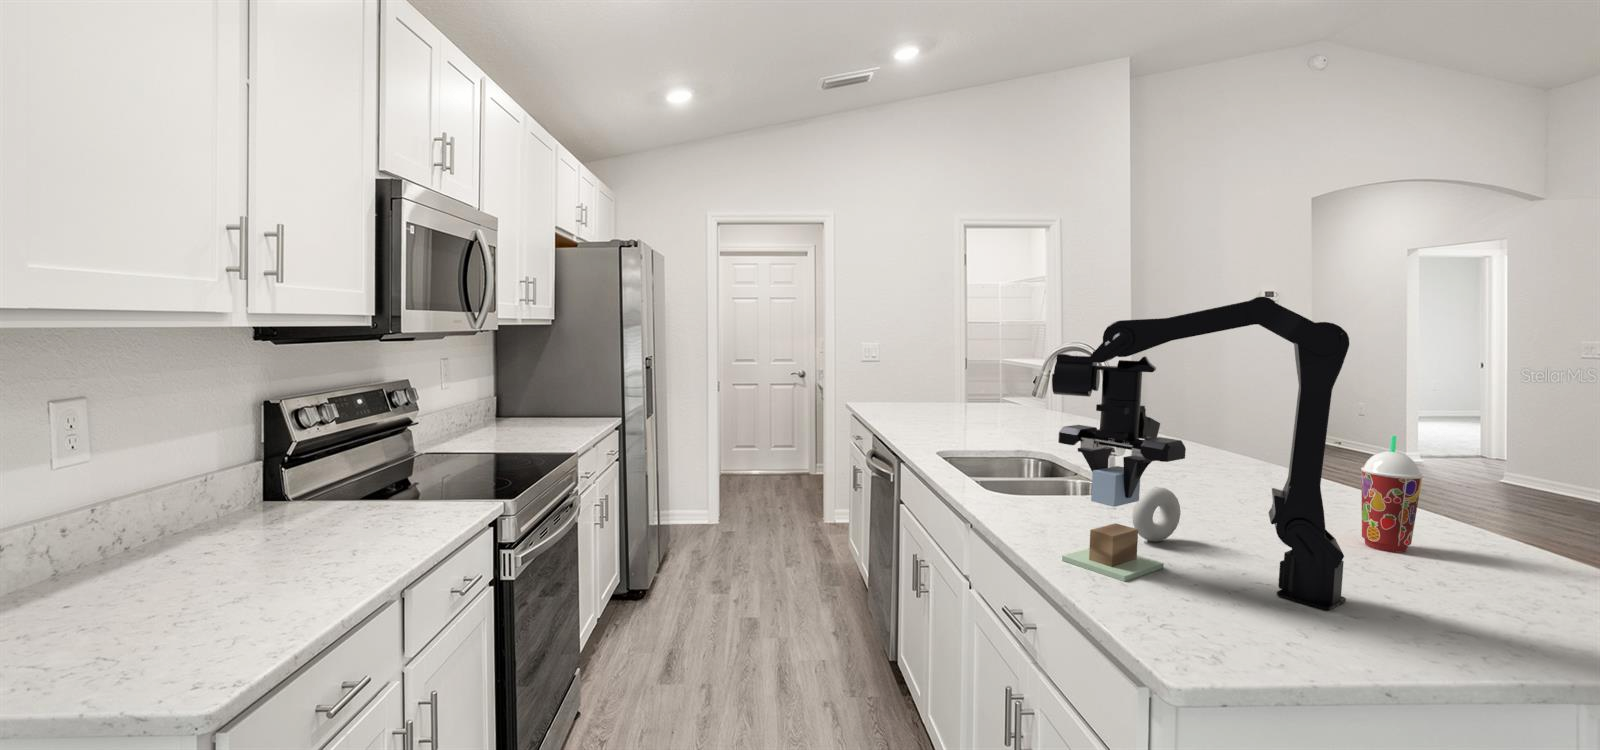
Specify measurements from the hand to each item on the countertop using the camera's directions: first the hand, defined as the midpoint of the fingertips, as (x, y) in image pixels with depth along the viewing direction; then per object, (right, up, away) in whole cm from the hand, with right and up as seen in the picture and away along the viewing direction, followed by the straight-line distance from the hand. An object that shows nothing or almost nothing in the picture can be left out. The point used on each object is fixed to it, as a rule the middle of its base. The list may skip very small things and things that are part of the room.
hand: (1115, 494), depth 114 cm
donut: (+13, -11, +14) cm, 22 cm away
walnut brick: (0, -11, +1) cm, 11 cm away
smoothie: (+53, -12, +12) cm, 56 cm away
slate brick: (0, -1, 0) cm, 1 cm away
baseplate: (0, -12, +1) cm, 12 cm away
